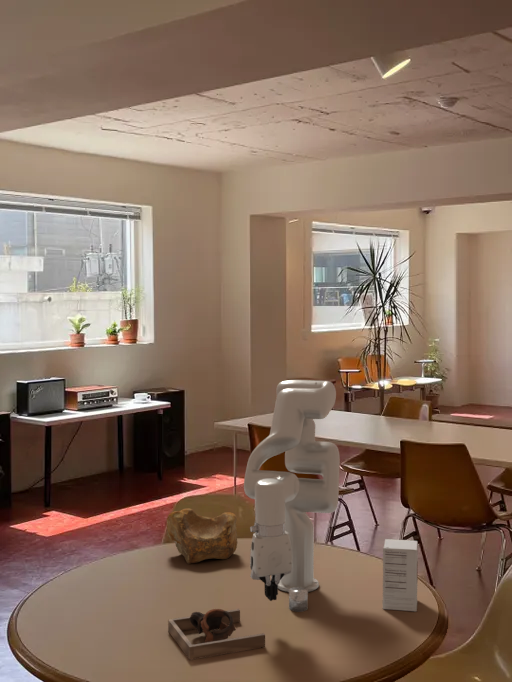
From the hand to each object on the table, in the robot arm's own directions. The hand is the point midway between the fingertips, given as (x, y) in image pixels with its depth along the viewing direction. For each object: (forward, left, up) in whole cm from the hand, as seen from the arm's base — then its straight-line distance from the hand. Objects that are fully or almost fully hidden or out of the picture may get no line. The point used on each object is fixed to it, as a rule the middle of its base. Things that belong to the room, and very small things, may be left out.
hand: (271, 598), depth 214 cm
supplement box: (-2, +39, -8) cm, 40 cm away
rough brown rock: (-61, +1, -8) cm, 61 cm away
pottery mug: (0, -16, -8) cm, 18 cm away
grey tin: (-10, +12, -8) cm, 17 cm away
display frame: (+1, -15, -8) cm, 17 cm away
